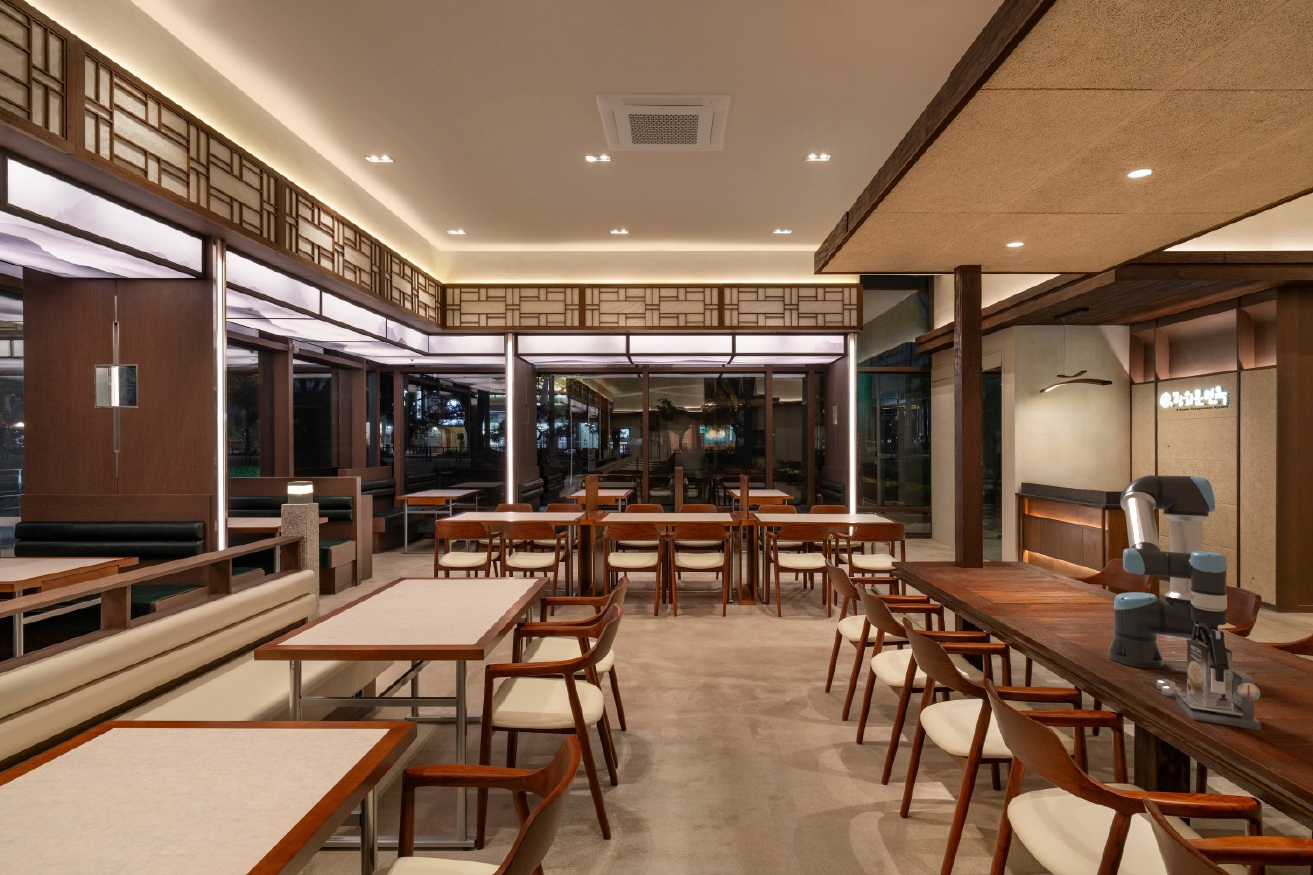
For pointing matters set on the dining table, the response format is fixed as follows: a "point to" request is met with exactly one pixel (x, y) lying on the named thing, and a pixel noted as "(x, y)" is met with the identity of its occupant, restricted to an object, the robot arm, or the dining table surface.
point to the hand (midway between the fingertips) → (1208, 683)
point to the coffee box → (1206, 676)
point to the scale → (1236, 716)
